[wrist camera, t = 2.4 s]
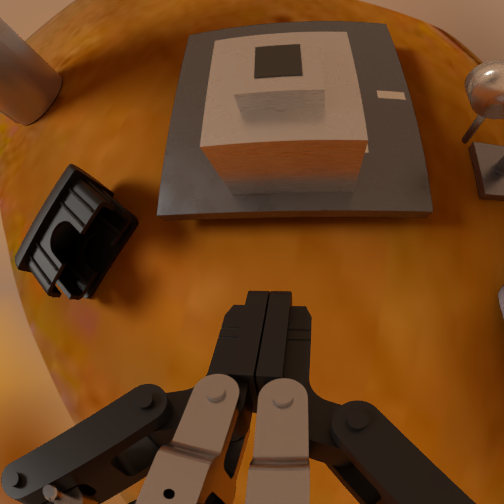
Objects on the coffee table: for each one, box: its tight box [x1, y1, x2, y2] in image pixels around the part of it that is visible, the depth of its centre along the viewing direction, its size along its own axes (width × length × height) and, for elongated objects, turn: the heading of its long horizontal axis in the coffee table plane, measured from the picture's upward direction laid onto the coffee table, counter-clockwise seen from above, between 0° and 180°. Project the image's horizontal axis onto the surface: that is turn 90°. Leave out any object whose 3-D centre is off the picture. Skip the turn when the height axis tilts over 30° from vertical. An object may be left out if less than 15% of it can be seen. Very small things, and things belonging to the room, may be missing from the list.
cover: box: [200, 32, 368, 195], centre depth 18 cm, size 8×8×9 cm
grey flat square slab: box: [157, 21, 433, 221], centre depth 24 cm, size 20×20×2 cm
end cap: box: [15, 164, 138, 300], centre depth 25 cm, size 10×7×7 cm
